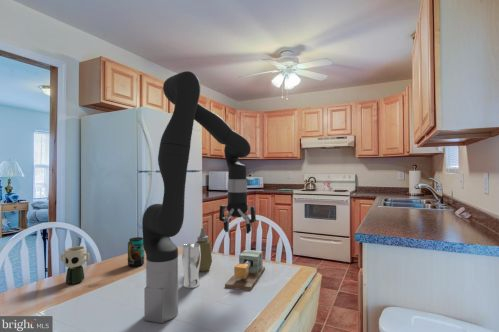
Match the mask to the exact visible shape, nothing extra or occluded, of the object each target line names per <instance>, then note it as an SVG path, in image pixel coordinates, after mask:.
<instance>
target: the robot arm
mask: <svg viewBox="0 0 499 332" xmlns="http://www.w3.org/2000/svg"><path fill="white" fill-rule="evenodd" d="M162 90H163V94H164V96H165V97H166V99H167V100H168V101H169V102H170V103H172V104H173V105H174V108H173V111H172V115H171V117H170V120H169V121H168V123H167V125H166V127H165V129H164V131H163V133H162V136H161V137H160V142H159V147H158V155H157V164H158V167H159V172H160V175H161V177H162V182H163V197H162V203H153V204H151V205H149V206H148V207H147V208H146V209H145V210H144V213H143V215H142V222H141V223H142V225H141V227H142V228H141V229H142V238H143V247H144V254H145V261H146V262H145V267H146V268H145V276H146V278H145V285H146V286H145V287H144V289H143V290H144V297H143V298H144V300H143V301H144V316H143V317H144V318H143V319H144V321H146V322H151V323H152V322H153V323H157V324H164V323H165V322H167V321H170V320H173V319H174V318H175V317H176V316H178V314H179V249H178V246H177V245H176V244H175V243H174V242H173V241H172V240H171V238H173V237H175V236H176V235H177V234H179V233H180V231H181V229H182V228H183V224H184V218H185V194H186V193H185V192H186V184H187V183H186V182H187V181H186V180H187V173H188V172H187V171H188V165H189V159H190V151H191V142H192V135H193V130H194V121H195V122H196V123H198V124H199V125H200V126H201V127H203V129H205V130H206V131H207V132H208V133H209V134H210V135H211V136H212V137H213V139H215V141H216V142H218V143H219V144H221V145H224V149H223V150H224V151H223V152H224V157H225V160H226V164H227V165H226V166H227V168H228V172H227V175H228V178H227V180H228V181H227V205H224V204H221V205H220V206H219V213H218V214H219V216H218V220H219V221H221V222H223V230H224V232H225V233H228V232H229V230H230V224H229V223H230V222H229V220H230V219H231V218H236V217H237V218H242V219H243V220H244V221H245V223H246V224H245V229H246V230H245V233H246V234H250V232H251V230H252V223H255V222H256V221H257V217H256V215H257V214H256V206H254V205H252V206H248V183H247V166H246V165H245V164H243V163H241V162H240V159H239V158H243V159H244V158H246V157H248V156H249V155H250V153H251V151H252V150H251V145H250V143H249V140H247V139H246V138H245V137H244V136H242V135H241V134H240V133H239V132H237V131H235V130H233V129H232V128H231V127H230V125H229V124H228V123H227V122H226V121H225V120H224V119H223V118H222V117H221V116H220V115H218V114H217V113H215V112H213V111H212V110H210V109H209V108H206V107H205V106H204V105H202V104H201V103H199V99H200V95H201V84H200V80H199V77H198V76H197V75H196V74H195V73H194V72H193V71H189V70H188V71H182V72H180V73H177V74H174V75H171V76H169V77H168V78H166V79H165V81H164V82H163V85H162ZM226 210H227V211H228V213H227V215H226V216H225V211H226ZM248 211H249V213H250V217H249V215H248V213H247V212H248Z"/></svg>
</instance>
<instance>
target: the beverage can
mask: <svg viewBox="0 0 499 332" xmlns="http://www.w3.org/2000/svg"><path fill="white" fill-rule="evenodd" d="M144 264H145V250H144V247H143V236H142V237H140V236H138V237H135V236H134V237H131V238H129V241H127V266H129V267H130V268H139V267H141V266H143V265H144Z"/></svg>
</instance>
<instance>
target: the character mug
mask: <svg viewBox="0 0 499 332" xmlns="http://www.w3.org/2000/svg"><path fill="white" fill-rule="evenodd" d="M60 261H61V262H63V264H64V267H66V268H67V270H66V275H65V284H70V283H71V284H72V285H73V284H77V283H81V282H82V281H83V280H85V272H84V271H85V270H84V267H83V265H85V264H86V263H87V262H90V253H89V252H87V250H86V246H81V245H80V246H79V245H77V246H72V247H71V246H70V247H68V248H65V249H64V252H62V253H61V254H60Z"/></svg>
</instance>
